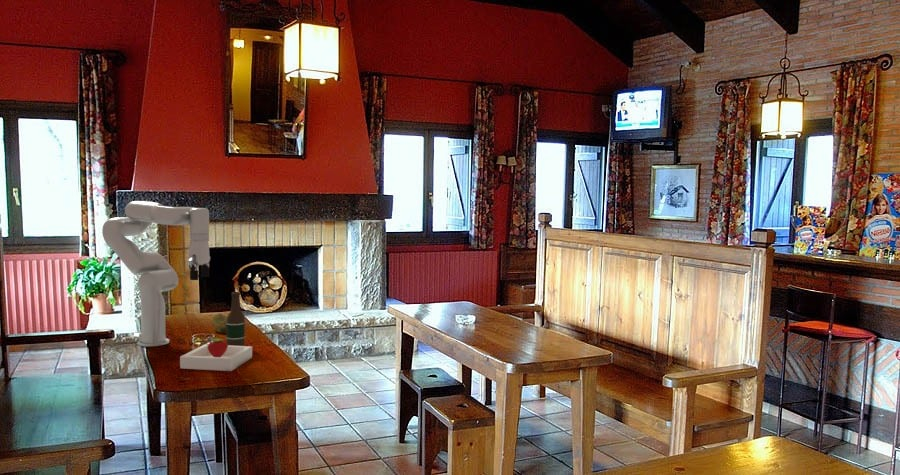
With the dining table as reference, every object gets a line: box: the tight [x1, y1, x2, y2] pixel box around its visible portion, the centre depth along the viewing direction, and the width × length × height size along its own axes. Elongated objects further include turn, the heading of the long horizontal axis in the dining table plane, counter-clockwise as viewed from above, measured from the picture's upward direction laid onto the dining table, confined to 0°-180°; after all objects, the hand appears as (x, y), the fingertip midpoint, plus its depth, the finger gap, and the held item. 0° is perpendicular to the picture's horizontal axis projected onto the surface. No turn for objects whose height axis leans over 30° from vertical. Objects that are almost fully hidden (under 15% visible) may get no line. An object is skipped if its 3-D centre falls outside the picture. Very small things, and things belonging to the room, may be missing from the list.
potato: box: [211, 313, 228, 334], centre depth 309 cm, size 8×13×8 cm, turn 25°
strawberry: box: [207, 335, 228, 357], centre depth 255 cm, size 6×8×10 cm
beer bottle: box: [225, 291, 246, 346], centre depth 279 cm, size 8×8×24 cm
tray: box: [179, 343, 253, 372], centre depth 255 cm, size 20×20×4 cm
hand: (199, 278), depth 272 cm, fingers open, 9 cm apart
